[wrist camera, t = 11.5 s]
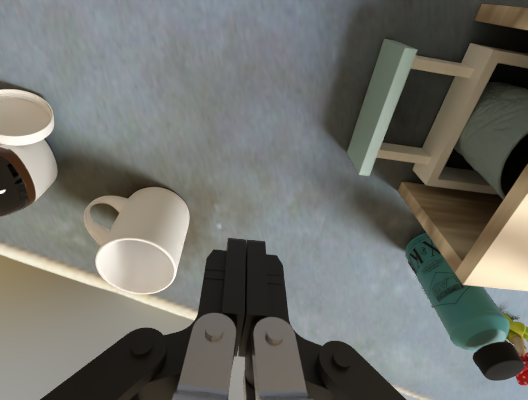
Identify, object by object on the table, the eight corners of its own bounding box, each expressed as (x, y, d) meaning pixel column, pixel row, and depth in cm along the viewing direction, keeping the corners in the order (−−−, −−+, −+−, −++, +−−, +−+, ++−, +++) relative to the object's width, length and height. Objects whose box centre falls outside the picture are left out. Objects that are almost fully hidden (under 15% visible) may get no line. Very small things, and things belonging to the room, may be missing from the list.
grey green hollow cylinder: (470, 169, 43) (536, 226, 33) (418, 128, 40) (474, 178, 30) (543, 104, 39) (645, 148, 29) (491, 52, 35) (586, 81, 25)
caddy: (387, 27, 33) (409, 35, 29) (595, 66, 36) (645, 78, 32) (344, 160, 41) (355, 182, 37) (517, 183, 44) (547, 207, 40)
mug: (119, 157, 41) (82, 207, 32) (202, 206, 45) (190, 262, 36) (91, 204, 44) (50, 260, 35) (171, 244, 49) (153, 304, 40)
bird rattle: (490, 328, 66) (540, 320, 59) (503, 391, 59) (561, 390, 52) (468, 318, 64) (517, 309, 57) (480, 382, 58) (536, 381, 51)
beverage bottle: (453, 232, 49) (557, 362, 32) (423, 262, 52) (503, 394, 35) (418, 217, 47) (510, 347, 31) (390, 249, 50) (458, 382, 34)
